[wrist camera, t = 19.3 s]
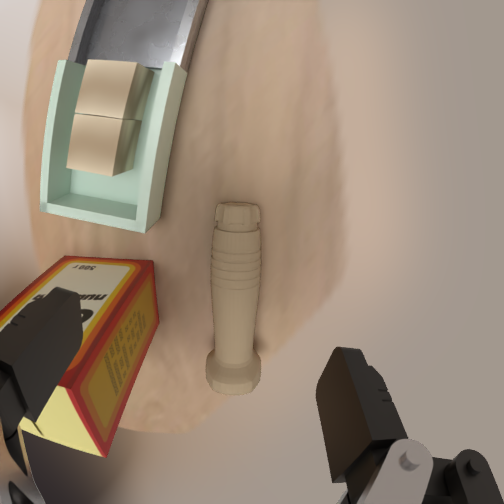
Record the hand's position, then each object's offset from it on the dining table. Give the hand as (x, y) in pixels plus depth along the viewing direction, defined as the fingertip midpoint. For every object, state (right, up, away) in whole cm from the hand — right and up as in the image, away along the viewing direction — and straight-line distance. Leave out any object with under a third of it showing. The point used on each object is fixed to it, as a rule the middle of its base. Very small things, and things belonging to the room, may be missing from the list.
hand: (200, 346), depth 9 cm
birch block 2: (-9, +12, +13) cm, 20 cm away
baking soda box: (-12, -1, +19) cm, 22 cm away
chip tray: (-9, +12, +13) cm, 20 cm away
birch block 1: (-8, +15, +12) cm, 21 cm away
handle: (+1, +7, +14) cm, 15 cm away
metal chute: (-6, +26, +8) cm, 28 cm away
